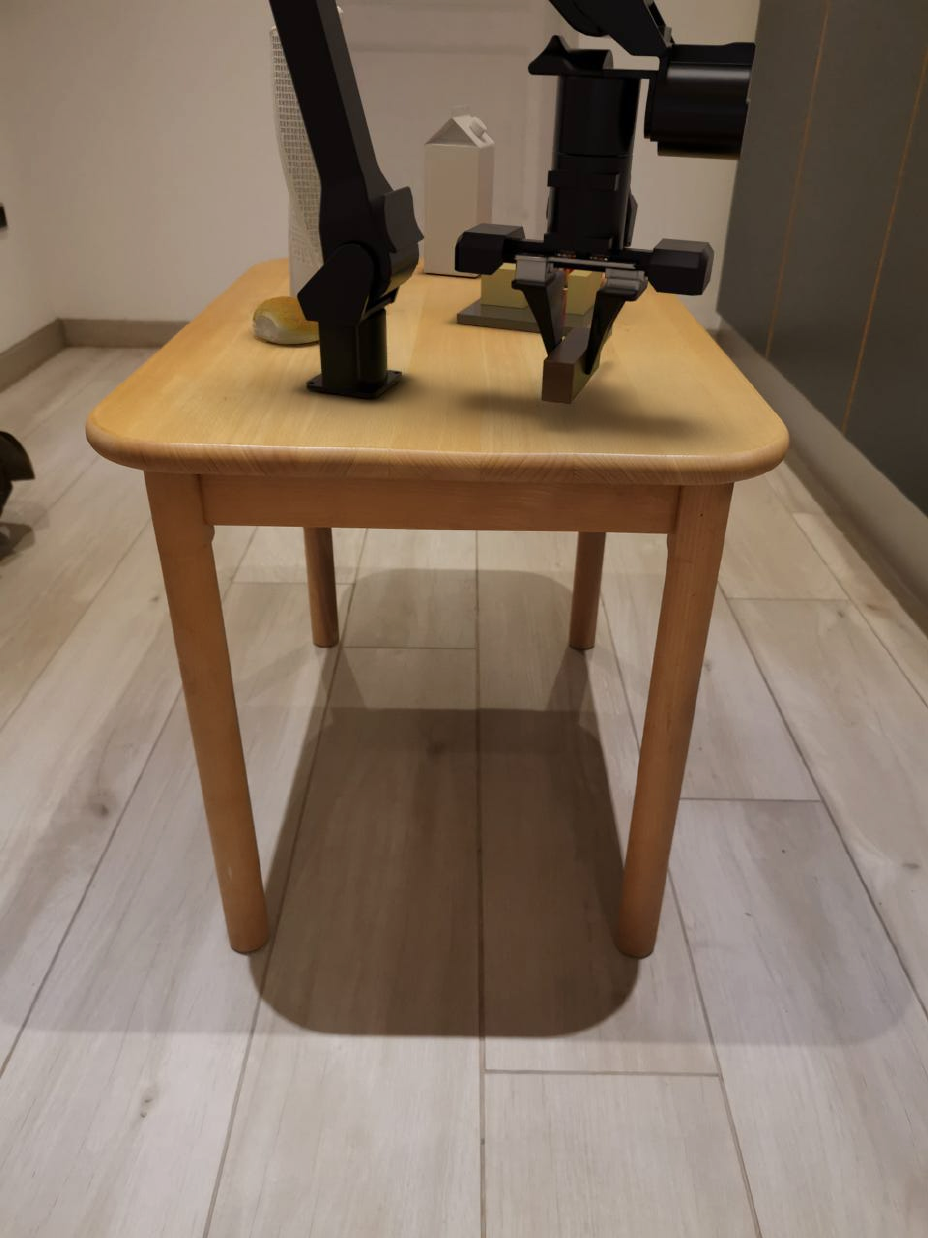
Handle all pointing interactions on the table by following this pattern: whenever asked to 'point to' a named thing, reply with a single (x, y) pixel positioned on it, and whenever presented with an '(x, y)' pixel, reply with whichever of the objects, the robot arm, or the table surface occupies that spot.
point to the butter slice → (582, 291)
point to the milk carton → (455, 187)
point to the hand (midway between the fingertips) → (572, 371)
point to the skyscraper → (296, 171)
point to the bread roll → (284, 322)
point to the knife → (567, 368)
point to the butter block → (502, 289)
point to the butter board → (518, 317)
